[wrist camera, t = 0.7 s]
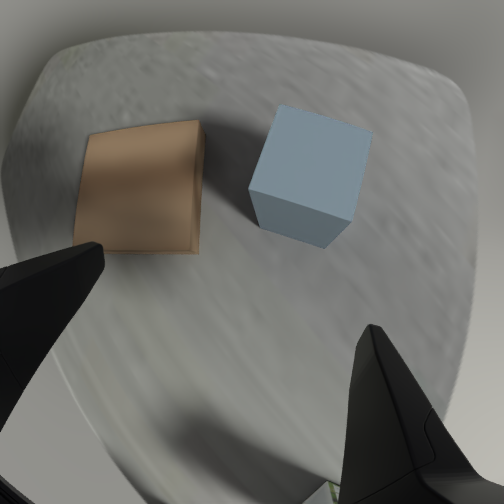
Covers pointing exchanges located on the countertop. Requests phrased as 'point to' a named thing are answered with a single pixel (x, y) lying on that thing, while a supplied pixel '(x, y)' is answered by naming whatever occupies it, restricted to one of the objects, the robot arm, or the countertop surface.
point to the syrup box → (325, 494)
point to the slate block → (309, 176)
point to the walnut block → (143, 189)
